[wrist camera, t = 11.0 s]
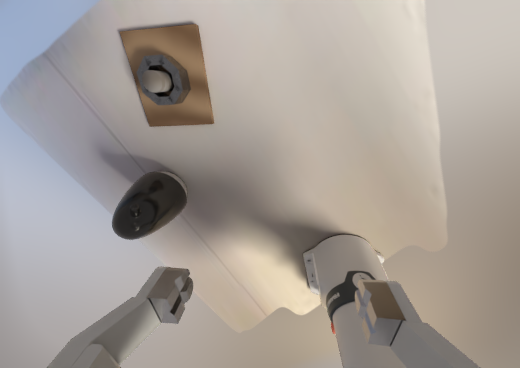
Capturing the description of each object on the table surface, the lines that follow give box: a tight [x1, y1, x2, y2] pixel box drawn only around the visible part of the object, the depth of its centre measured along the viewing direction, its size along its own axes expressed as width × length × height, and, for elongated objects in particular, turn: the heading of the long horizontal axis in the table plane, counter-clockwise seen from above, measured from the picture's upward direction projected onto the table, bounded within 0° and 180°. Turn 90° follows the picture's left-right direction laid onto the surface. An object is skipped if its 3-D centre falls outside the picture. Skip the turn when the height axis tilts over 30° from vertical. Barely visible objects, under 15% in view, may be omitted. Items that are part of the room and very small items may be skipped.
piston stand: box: [120, 24, 214, 127], centre depth 30 cm, size 14×12×6 cm
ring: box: [136, 55, 191, 105], centre depth 30 cm, size 7×7×3 cm
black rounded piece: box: [112, 171, 187, 240], centre depth 36 cm, size 10×10×15 cm
